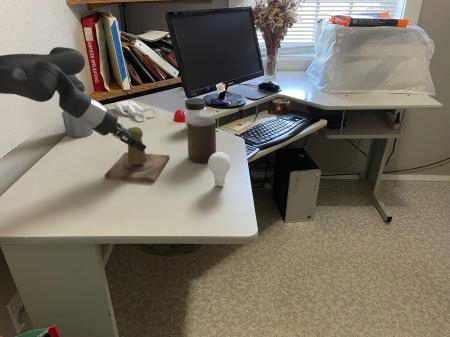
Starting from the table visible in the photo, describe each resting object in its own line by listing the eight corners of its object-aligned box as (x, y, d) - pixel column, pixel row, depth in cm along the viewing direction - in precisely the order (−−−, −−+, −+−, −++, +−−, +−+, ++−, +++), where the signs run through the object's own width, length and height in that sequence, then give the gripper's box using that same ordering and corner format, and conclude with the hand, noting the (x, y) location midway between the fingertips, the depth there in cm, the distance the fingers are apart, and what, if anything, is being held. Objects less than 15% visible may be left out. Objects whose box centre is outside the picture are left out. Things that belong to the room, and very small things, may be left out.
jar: (209, 130, 142) (208, 102, 136) (190, 134, 139) (189, 105, 133) (201, 123, 149) (200, 96, 143) (183, 126, 146) (181, 99, 140)
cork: (142, 165, 108) (138, 132, 103) (124, 163, 109) (119, 131, 104) (149, 157, 113) (146, 125, 108) (132, 155, 114) (128, 124, 109)
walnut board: (105, 178, 107) (104, 173, 106) (125, 156, 121) (125, 151, 120) (154, 182, 105) (154, 177, 104) (169, 159, 119) (169, 154, 118)
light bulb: (208, 180, 106) (207, 148, 101) (229, 179, 106) (229, 147, 101) (209, 192, 100) (208, 158, 95) (231, 191, 101) (232, 157, 95)
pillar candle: (210, 165, 115) (210, 123, 108) (183, 161, 117) (181, 120, 110) (219, 154, 123) (219, 114, 116) (194, 150, 125) (193, 111, 118)
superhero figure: (160, 118, 158) (124, 109, 171) (159, 105, 156) (124, 97, 169) (140, 122, 149) (105, 112, 163) (140, 109, 147) (104, 100, 160)
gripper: (83, 119, 104) (127, 147, 115) (95, 135, 93) (142, 164, 105) (98, 100, 104) (141, 129, 115) (111, 113, 93) (157, 144, 105)
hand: (141, 146), depth 110 cm, fingers closed on cork, 4 cm apart
